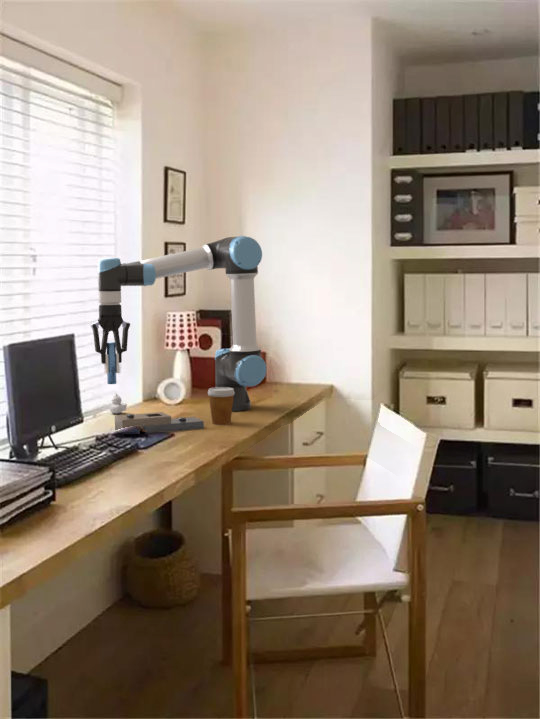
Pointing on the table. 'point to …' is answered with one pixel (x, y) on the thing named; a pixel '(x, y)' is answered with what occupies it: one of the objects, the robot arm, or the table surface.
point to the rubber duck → (117, 405)
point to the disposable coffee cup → (221, 404)
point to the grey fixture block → (158, 422)
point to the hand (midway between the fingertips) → (111, 372)
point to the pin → (111, 362)
